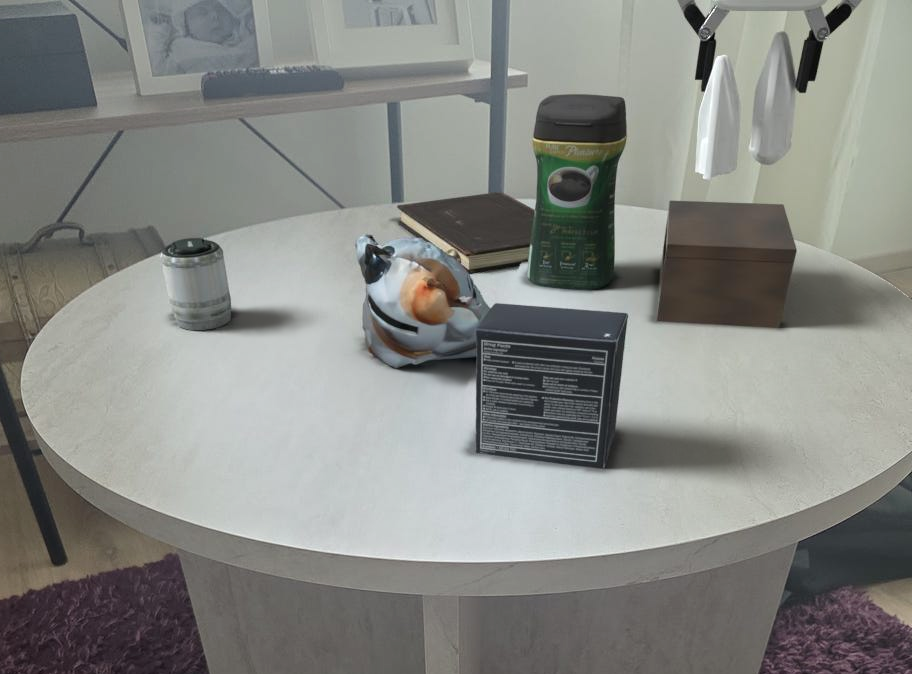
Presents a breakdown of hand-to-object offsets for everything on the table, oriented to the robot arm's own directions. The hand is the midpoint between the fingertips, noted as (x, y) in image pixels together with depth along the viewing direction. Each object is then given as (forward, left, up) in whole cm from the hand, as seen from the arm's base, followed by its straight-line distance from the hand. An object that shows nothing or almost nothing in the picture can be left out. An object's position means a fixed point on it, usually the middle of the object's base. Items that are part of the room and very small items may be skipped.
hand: (752, 89), depth 85 cm
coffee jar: (+16, -4, -20) cm, 26 cm away
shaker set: (0, 0, -7) cm, 7 cm away
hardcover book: (+28, -19, -20) cm, 39 cm away
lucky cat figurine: (+27, +19, -20) cm, 39 cm away
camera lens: (+53, +14, -20) cm, 58 cm away
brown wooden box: (0, 0, -20) cm, 20 cm away
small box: (+14, +36, -20) cm, 44 cm away
